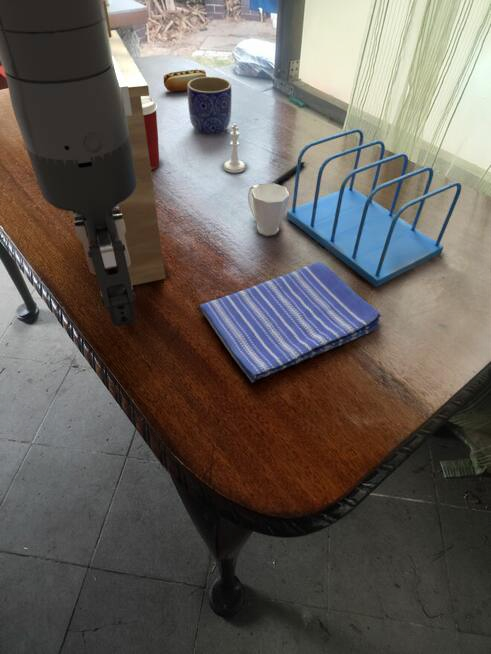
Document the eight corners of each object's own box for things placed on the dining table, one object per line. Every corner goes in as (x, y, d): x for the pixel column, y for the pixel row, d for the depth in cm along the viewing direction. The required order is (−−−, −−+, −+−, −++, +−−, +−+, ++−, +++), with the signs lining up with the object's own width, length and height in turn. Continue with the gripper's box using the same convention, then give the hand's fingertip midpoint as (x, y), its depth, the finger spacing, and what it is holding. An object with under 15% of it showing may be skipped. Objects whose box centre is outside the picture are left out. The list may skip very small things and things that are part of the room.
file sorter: (285, 218, 91) (293, 144, 80) (348, 194, 98) (363, 122, 87) (375, 288, 77) (399, 209, 66) (441, 254, 84) (473, 178, 73)
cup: (264, 244, 85) (266, 206, 79) (234, 219, 91) (234, 182, 85) (293, 232, 88) (297, 195, 82) (262, 208, 93) (265, 172, 88)
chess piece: (232, 160, 108) (232, 117, 100) (249, 166, 106) (250, 123, 98) (219, 168, 105) (218, 124, 97) (236, 175, 103) (237, 131, 96)
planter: (205, 142, 114) (203, 95, 105) (181, 127, 119) (178, 82, 111) (239, 131, 118) (240, 86, 110) (215, 118, 124) (214, 73, 116)
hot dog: (209, 89, 138) (209, 72, 135) (168, 95, 134) (166, 77, 131) (203, 84, 141) (202, 66, 138) (162, 90, 137) (160, 72, 134)
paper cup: (157, 154, 109) (150, 92, 98) (168, 168, 104) (161, 105, 94) (125, 160, 106) (114, 97, 96) (135, 175, 102) (124, 111, 91)
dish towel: (383, 328, 71) (387, 315, 69) (252, 387, 62) (253, 375, 60) (319, 266, 81) (321, 254, 79) (198, 310, 73) (197, 297, 70)
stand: (172, 279, 78) (148, 85, 55) (113, 291, 75) (62, 93, 53) (143, 204, 94) (115, 29, 71) (94, 212, 91) (49, 34, 69)
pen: (306, 159, 106) (302, 160, 107) (268, 186, 97) (264, 186, 98) (307, 163, 106) (303, 164, 107) (270, 190, 98) (266, 191, 99)
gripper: (20, 102, 37) (71, 259, 49) (26, 187, 28) (87, 354, 40) (112, 92, 39) (140, 245, 51) (147, 169, 30) (170, 334, 42)
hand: (117, 293), depth 45 cm, fingers open, 8 cm apart
